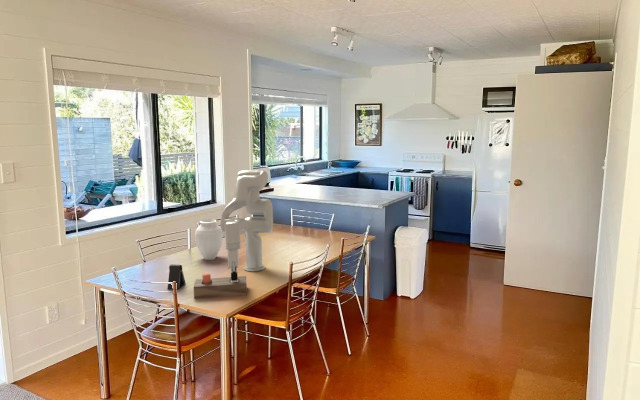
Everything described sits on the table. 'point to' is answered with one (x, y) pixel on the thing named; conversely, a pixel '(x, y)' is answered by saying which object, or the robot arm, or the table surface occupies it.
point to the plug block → (220, 287)
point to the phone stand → (176, 276)
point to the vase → (208, 238)
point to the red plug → (206, 278)
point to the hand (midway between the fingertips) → (234, 280)
